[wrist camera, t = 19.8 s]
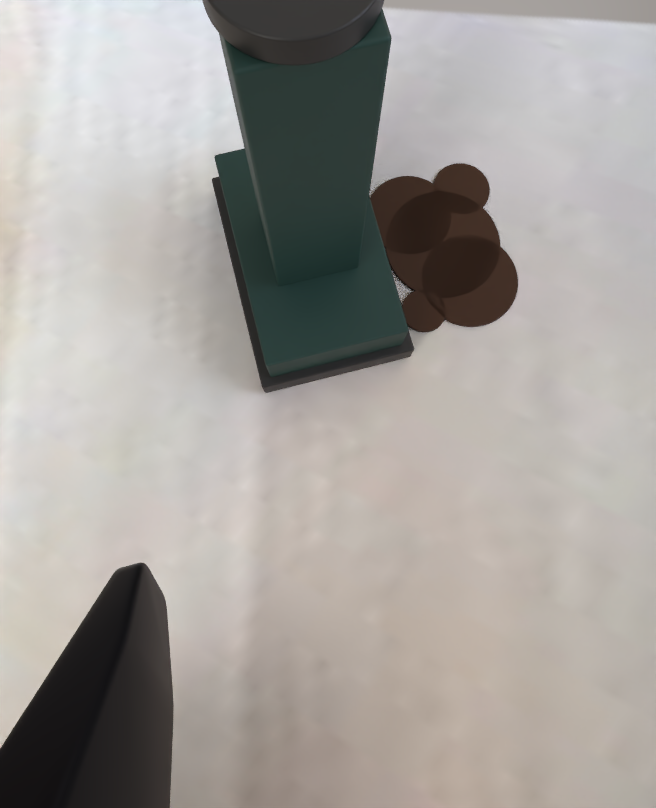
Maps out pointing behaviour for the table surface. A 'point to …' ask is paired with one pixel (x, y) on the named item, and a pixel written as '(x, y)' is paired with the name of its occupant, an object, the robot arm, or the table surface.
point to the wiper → (307, 186)
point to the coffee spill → (445, 248)
